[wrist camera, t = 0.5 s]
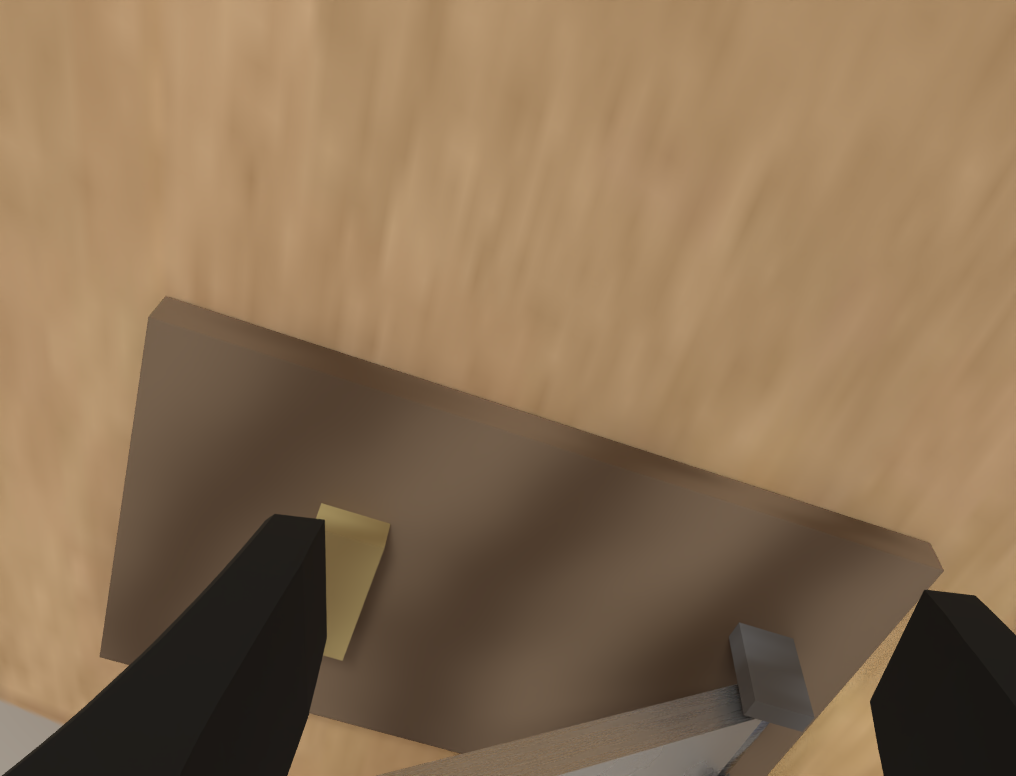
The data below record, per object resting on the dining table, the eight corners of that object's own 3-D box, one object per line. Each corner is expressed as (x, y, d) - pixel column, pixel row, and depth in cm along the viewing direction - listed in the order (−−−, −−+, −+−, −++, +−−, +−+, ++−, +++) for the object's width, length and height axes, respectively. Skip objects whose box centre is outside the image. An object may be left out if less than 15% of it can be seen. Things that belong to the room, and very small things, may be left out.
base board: (929, 543, 23) (982, 648, 20) (720, 795, 30) (737, 903, 27) (165, 295, 21) (98, 376, 18) (114, 630, 27) (58, 731, 24)
